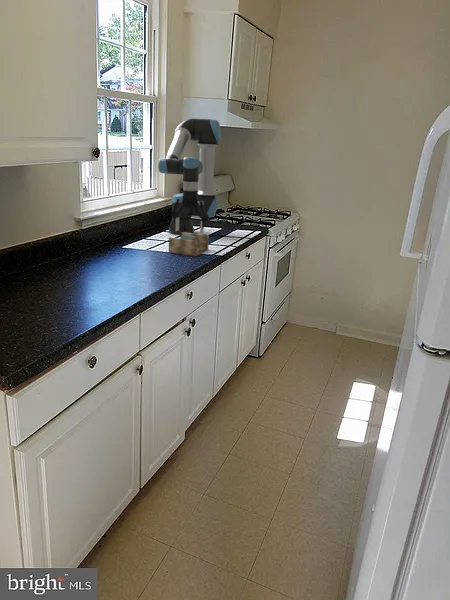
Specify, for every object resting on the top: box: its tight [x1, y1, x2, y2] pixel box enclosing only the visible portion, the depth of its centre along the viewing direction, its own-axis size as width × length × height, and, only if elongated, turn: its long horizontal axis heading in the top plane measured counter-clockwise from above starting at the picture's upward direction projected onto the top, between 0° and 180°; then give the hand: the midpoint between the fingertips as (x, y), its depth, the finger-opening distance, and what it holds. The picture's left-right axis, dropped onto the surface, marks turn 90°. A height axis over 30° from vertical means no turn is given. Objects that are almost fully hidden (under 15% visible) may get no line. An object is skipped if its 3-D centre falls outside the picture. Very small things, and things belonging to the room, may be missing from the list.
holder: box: [168, 232, 210, 257], centre depth 249 cm, size 15×16×8 cm
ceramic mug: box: [179, 234, 200, 248], centre depth 250 cm, size 11×8×8 cm
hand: (189, 232), depth 247 cm, fingers open, 13 cm apart
